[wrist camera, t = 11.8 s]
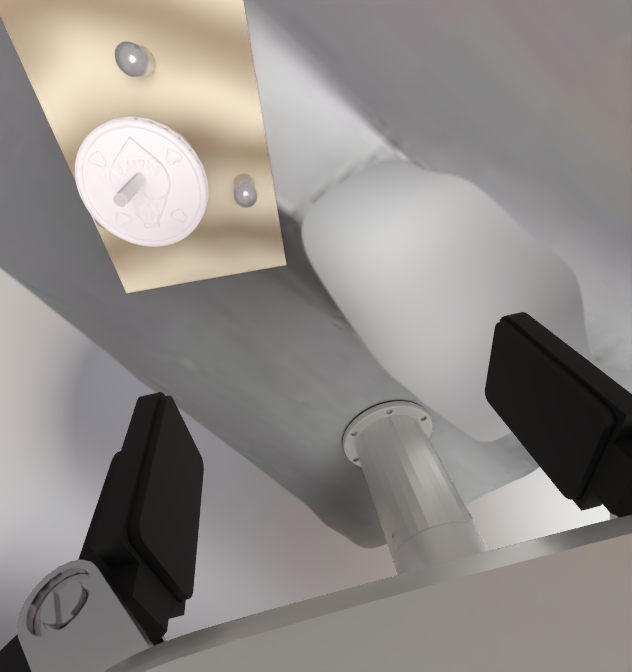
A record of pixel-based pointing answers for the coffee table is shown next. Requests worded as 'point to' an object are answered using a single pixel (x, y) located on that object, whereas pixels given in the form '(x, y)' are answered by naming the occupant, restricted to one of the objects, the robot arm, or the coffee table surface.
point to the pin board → (162, 115)
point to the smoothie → (141, 181)
